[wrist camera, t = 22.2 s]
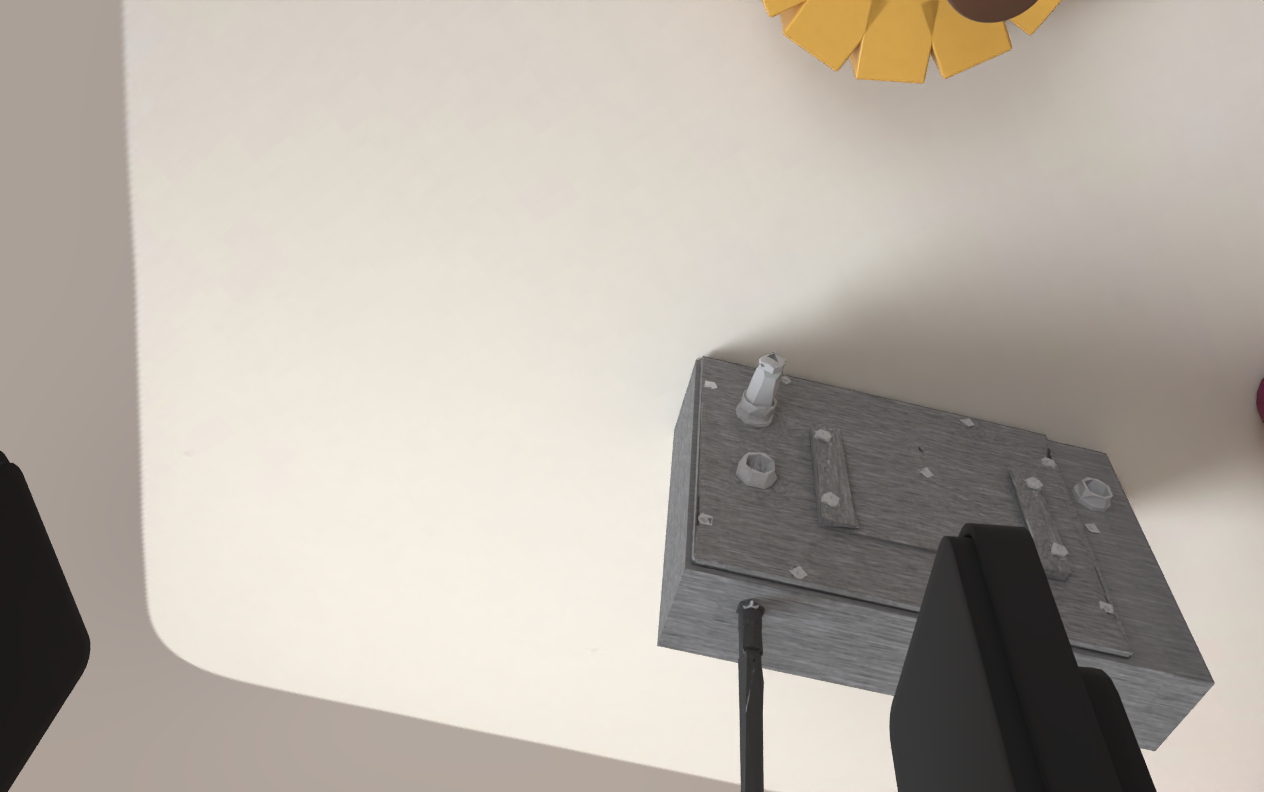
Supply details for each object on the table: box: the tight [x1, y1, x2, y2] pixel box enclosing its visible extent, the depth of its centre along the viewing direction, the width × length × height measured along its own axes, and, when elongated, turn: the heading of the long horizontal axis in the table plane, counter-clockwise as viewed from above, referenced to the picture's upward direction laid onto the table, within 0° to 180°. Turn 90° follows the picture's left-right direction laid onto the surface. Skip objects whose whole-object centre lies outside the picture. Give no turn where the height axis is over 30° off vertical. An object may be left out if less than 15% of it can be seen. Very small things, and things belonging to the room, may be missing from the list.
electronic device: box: [657, 353, 1215, 792], centre depth 33 cm, size 17×7×20 cm, turn 78°
